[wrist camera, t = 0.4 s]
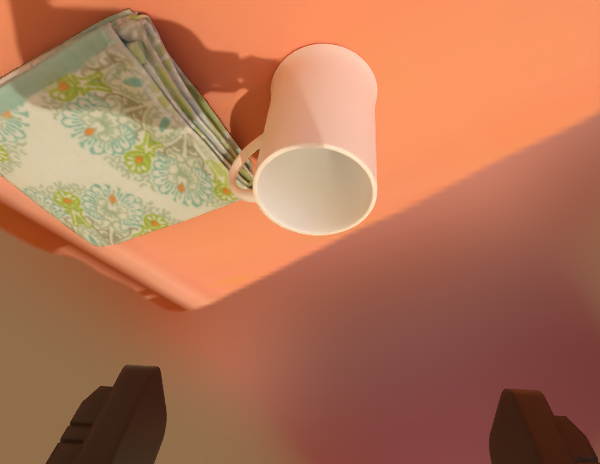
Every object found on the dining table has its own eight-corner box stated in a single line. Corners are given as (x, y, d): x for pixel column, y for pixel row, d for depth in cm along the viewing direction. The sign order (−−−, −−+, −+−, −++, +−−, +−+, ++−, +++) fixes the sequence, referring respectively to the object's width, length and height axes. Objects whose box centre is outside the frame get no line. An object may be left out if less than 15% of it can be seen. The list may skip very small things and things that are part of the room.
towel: (269, 170, 47) (262, 208, 43) (102, 228, 55) (85, 265, 51) (143, -13, 35) (120, 19, 32) (-44, 95, 43) (-79, 130, 40)
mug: (261, 155, 46) (239, 255, 37) (217, 74, 40) (180, 171, 32) (388, 121, 42) (395, 225, 34) (360, 27, 36) (359, 124, 28)
